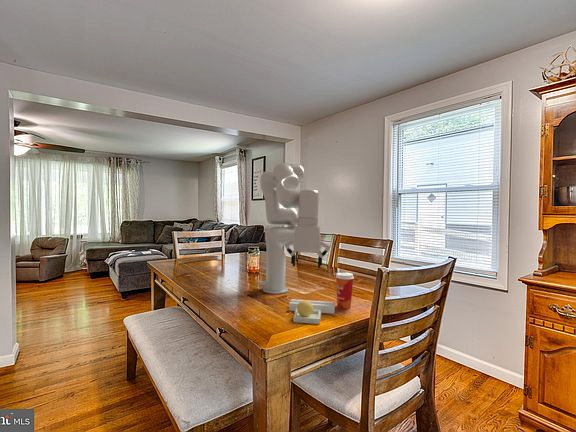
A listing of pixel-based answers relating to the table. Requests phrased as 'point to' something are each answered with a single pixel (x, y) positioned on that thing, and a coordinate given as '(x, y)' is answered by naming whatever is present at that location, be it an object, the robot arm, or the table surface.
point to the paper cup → (344, 290)
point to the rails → (314, 306)
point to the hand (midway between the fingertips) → (306, 266)
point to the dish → (313, 318)
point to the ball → (305, 308)
